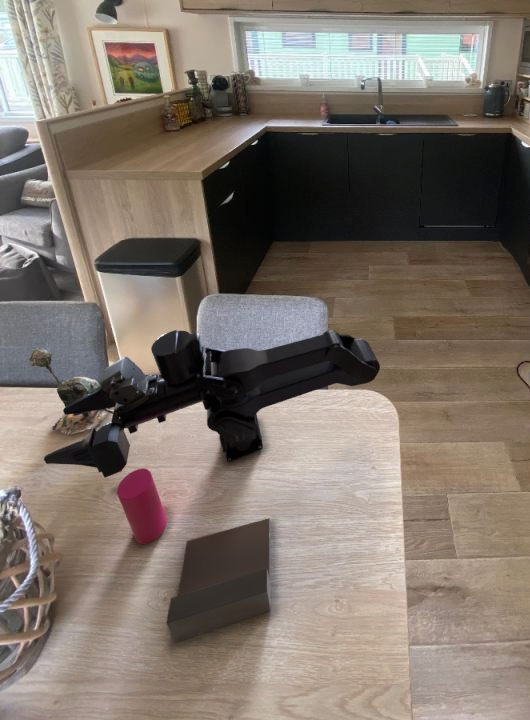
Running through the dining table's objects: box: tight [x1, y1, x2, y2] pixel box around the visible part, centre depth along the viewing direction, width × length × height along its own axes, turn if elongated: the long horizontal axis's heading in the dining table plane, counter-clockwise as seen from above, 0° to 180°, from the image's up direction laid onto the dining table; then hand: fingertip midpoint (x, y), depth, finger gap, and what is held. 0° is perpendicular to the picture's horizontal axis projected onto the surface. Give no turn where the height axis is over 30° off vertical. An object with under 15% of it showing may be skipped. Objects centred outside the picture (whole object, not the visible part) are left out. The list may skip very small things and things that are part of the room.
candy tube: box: [116, 468, 168, 545], centre depth 59 cm, size 4×4×11 cm
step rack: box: [165, 517, 272, 643], centre depth 55 cm, size 10×12×5 cm
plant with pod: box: [28, 347, 114, 436], centre depth 75 cm, size 8×11×20 cm
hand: (55, 434), depth 59 cm, fingers open, 9 cm apart
